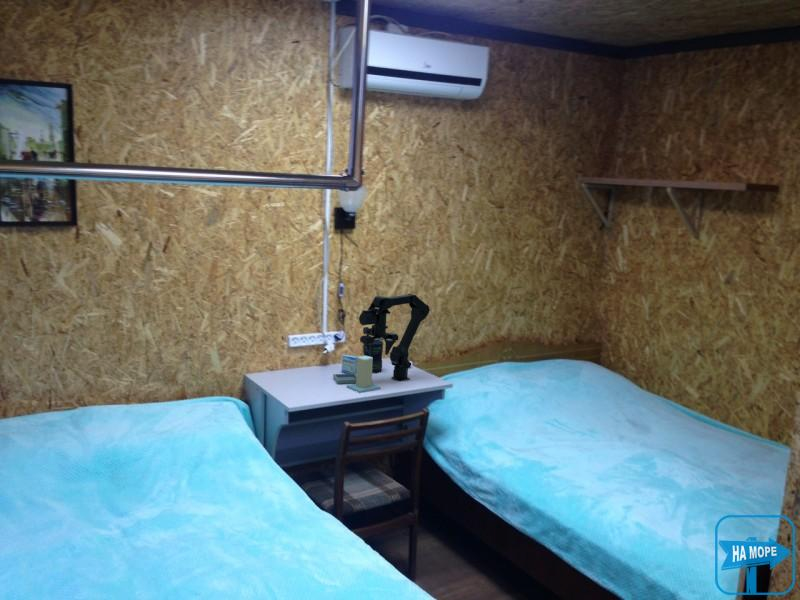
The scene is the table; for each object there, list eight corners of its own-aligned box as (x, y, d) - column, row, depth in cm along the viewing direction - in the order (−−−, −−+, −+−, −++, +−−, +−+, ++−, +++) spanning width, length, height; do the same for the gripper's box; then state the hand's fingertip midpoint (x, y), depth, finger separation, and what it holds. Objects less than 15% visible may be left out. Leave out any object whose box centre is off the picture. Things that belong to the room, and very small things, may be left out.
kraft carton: (363, 384, 316) (364, 355, 314) (371, 386, 313) (372, 357, 311) (356, 385, 312) (357, 356, 310) (363, 388, 309) (364, 359, 307)
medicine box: (341, 372, 338) (341, 355, 336) (346, 370, 342) (346, 353, 340) (354, 375, 334) (355, 358, 333) (359, 373, 338) (360, 356, 337)
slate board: (367, 383, 320) (367, 381, 320) (380, 389, 313) (380, 387, 312) (346, 387, 313) (346, 385, 313) (359, 392, 305) (359, 390, 305)
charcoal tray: (354, 377, 330) (354, 373, 330) (359, 383, 320) (360, 379, 320) (333, 378, 327) (333, 374, 326) (337, 384, 317) (337, 380, 316)
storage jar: (358, 369, 345) (360, 340, 343) (375, 367, 351) (376, 339, 348) (368, 374, 337) (370, 344, 335) (385, 372, 343) (387, 343, 340)
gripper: (385, 318, 330) (383, 350, 333) (353, 322, 318) (352, 354, 321) (399, 322, 322) (398, 355, 324) (367, 326, 310) (366, 359, 312)
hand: (378, 356), depth 321 cm, fingers open, 9 cm apart
